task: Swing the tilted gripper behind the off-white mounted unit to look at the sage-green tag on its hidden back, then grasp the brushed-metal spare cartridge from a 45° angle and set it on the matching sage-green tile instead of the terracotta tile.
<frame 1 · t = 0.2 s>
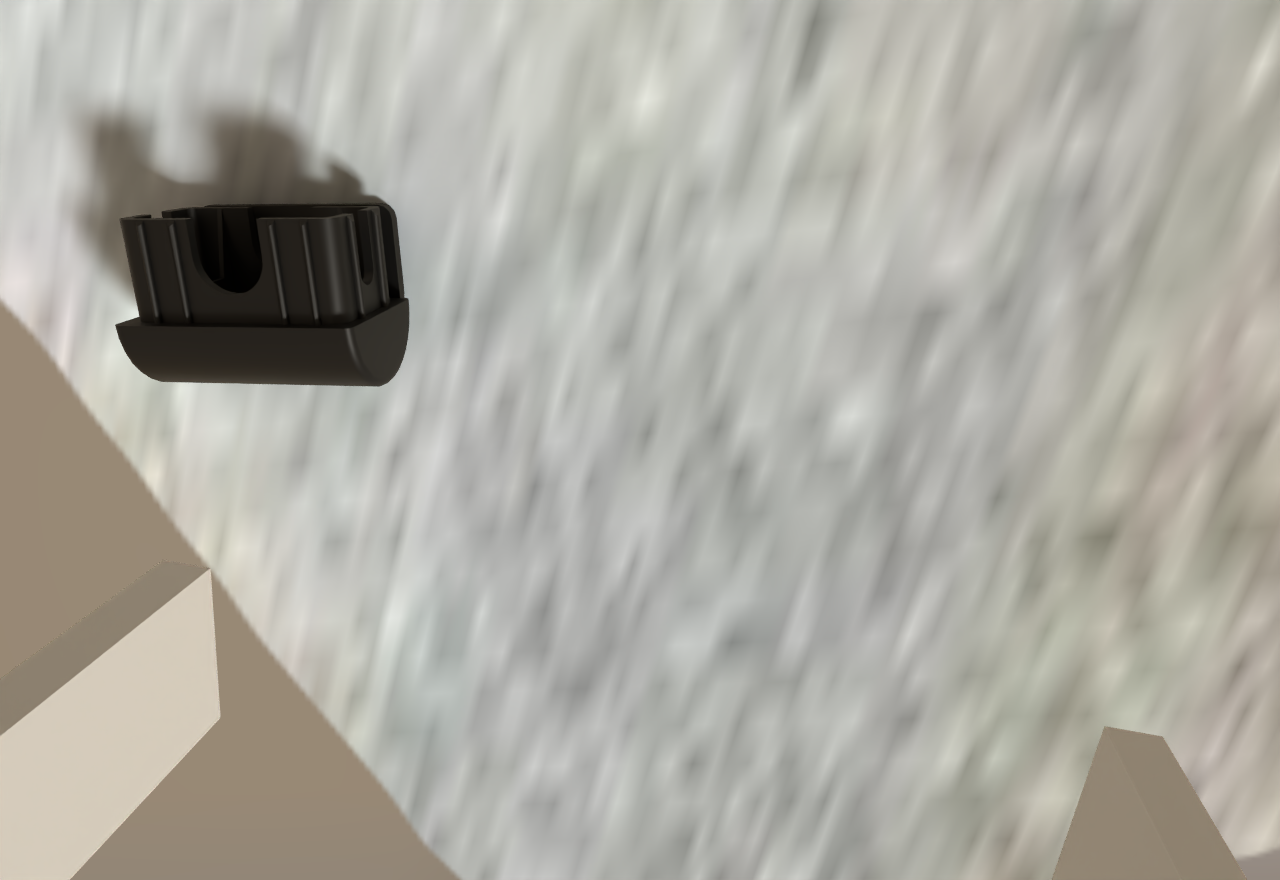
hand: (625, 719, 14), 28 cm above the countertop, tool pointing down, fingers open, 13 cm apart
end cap: (311, 283, 42), on the countertop
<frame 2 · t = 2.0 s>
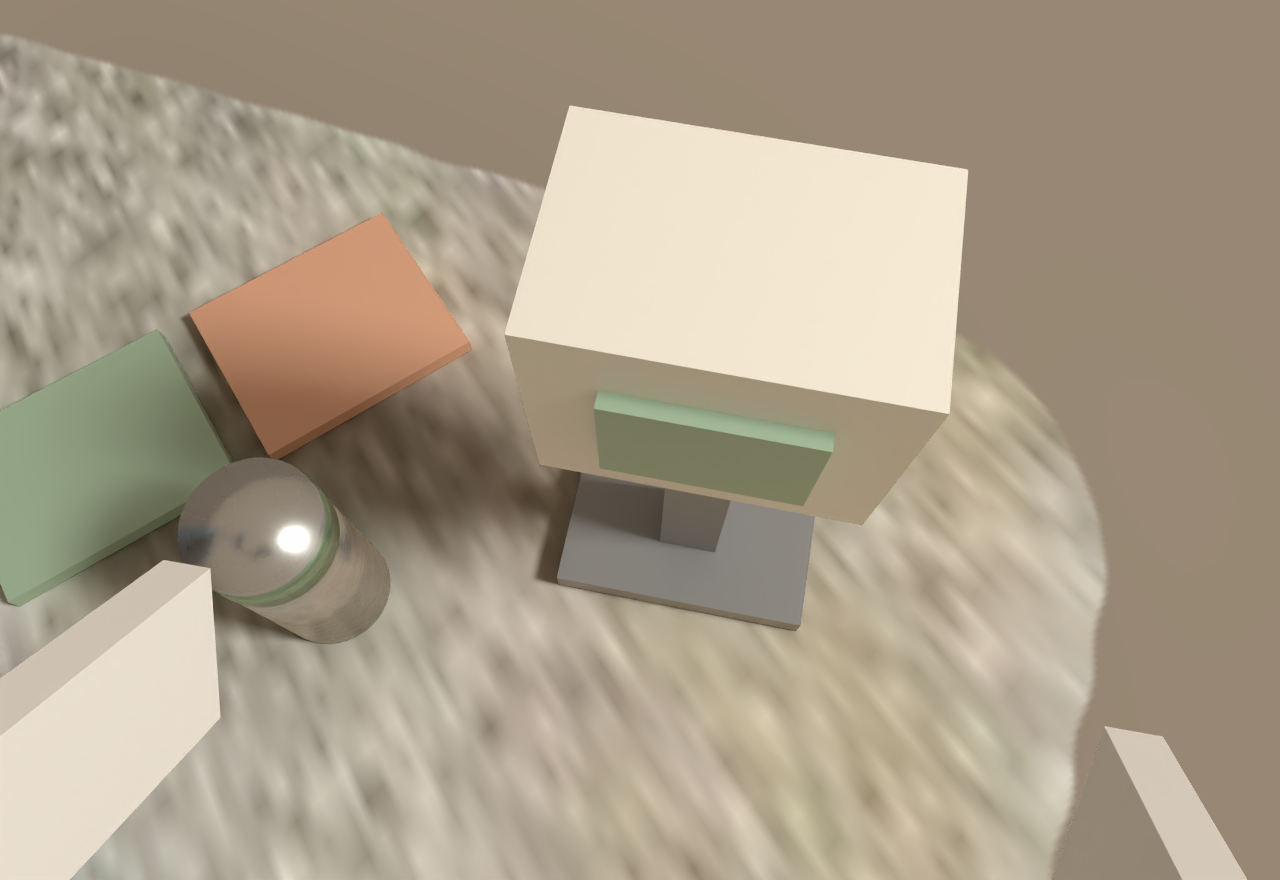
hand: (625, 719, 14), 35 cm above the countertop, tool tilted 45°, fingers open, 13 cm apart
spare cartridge: (334, 588, 50), on the countertop
green tile: (96, 463, 53), on the countertop
terracotta tile: (333, 335, 56), on the countertop
mounted unit: (690, 528, 52), on the countertop
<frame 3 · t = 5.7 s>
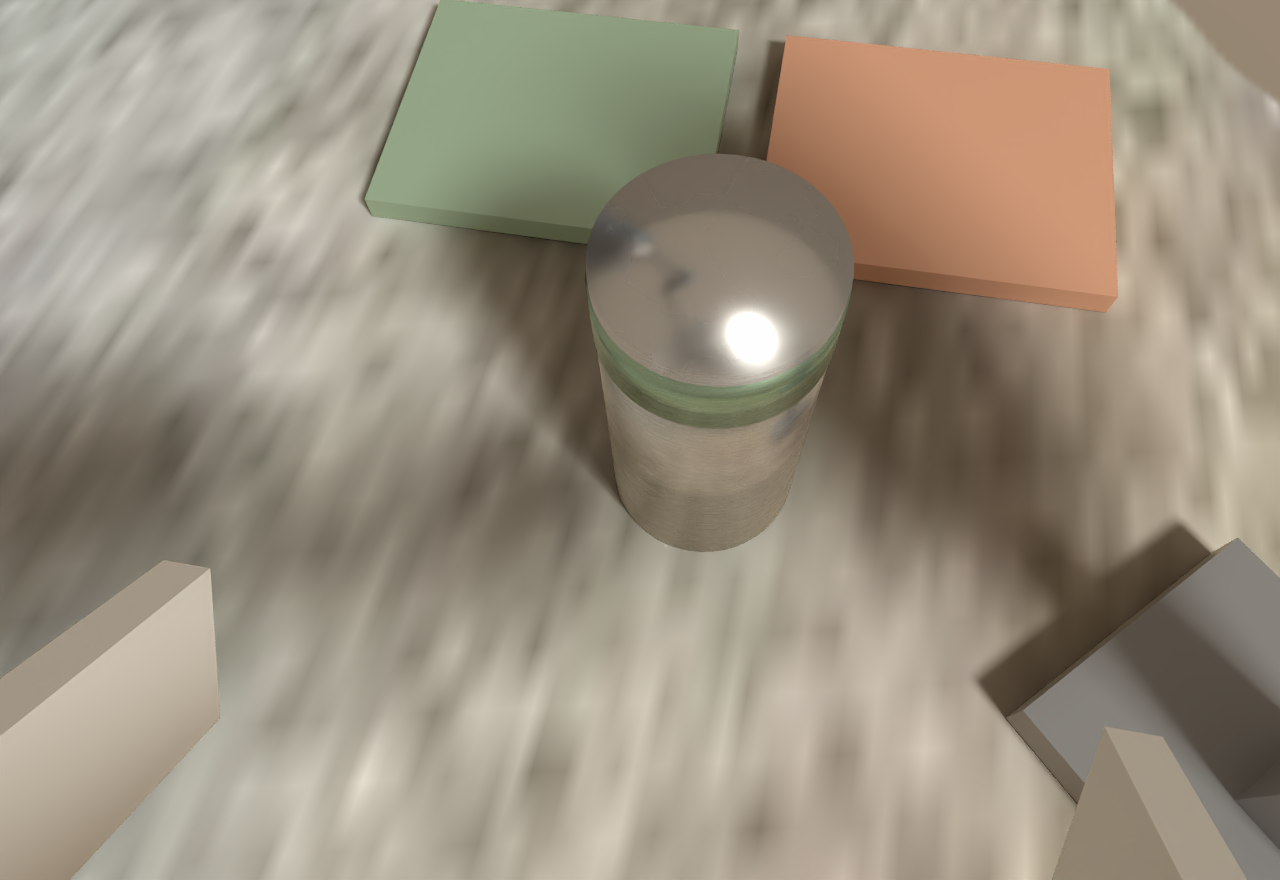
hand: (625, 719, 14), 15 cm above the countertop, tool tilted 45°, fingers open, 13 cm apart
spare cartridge: (702, 467, 32), on the countertop
green tile: (562, 129, 38), on the countertop
terracotta tile: (932, 173, 37), on the countertop
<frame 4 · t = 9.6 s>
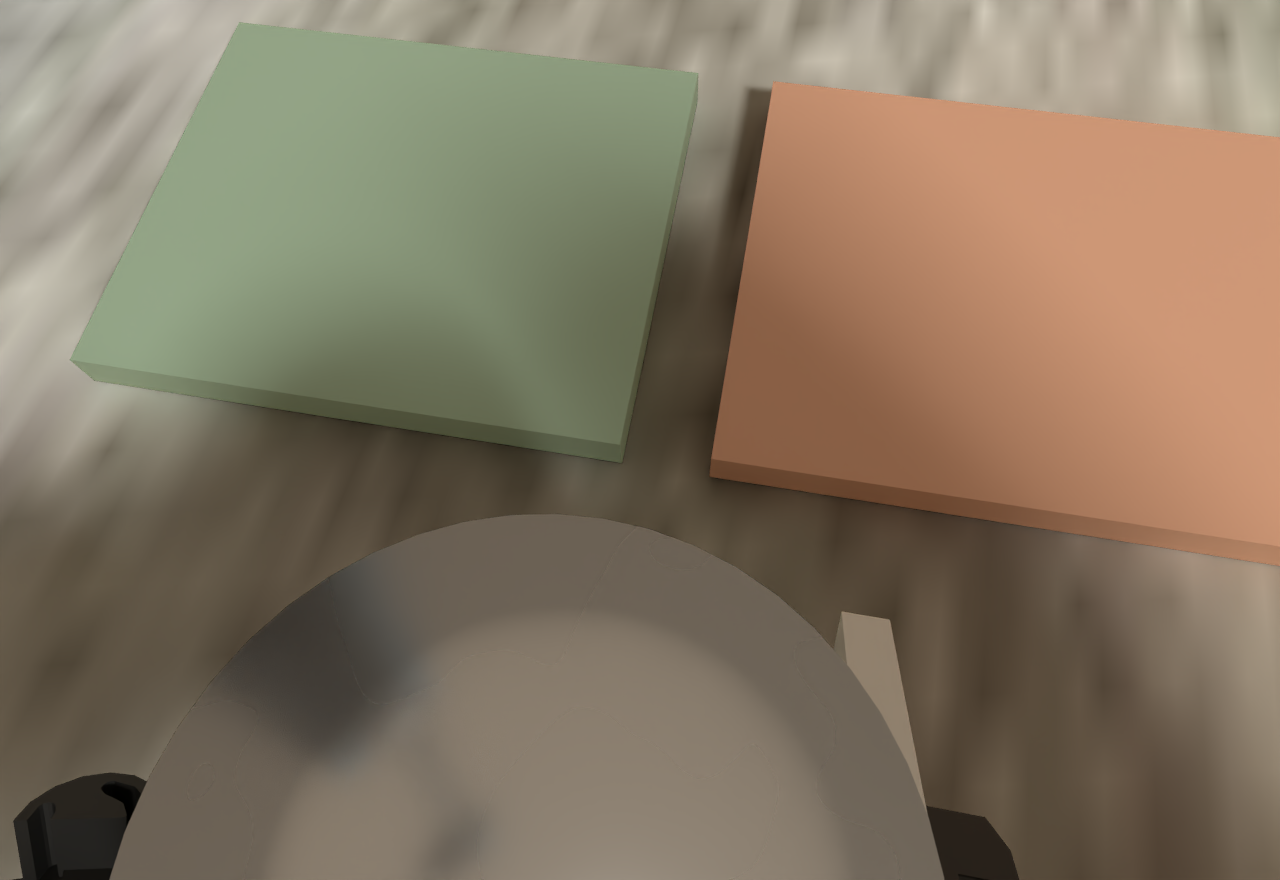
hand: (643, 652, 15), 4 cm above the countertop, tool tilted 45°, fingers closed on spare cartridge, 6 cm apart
green tile: (415, 231, 24), on the countertop
terracotta tile: (1010, 310, 22), on the countertop
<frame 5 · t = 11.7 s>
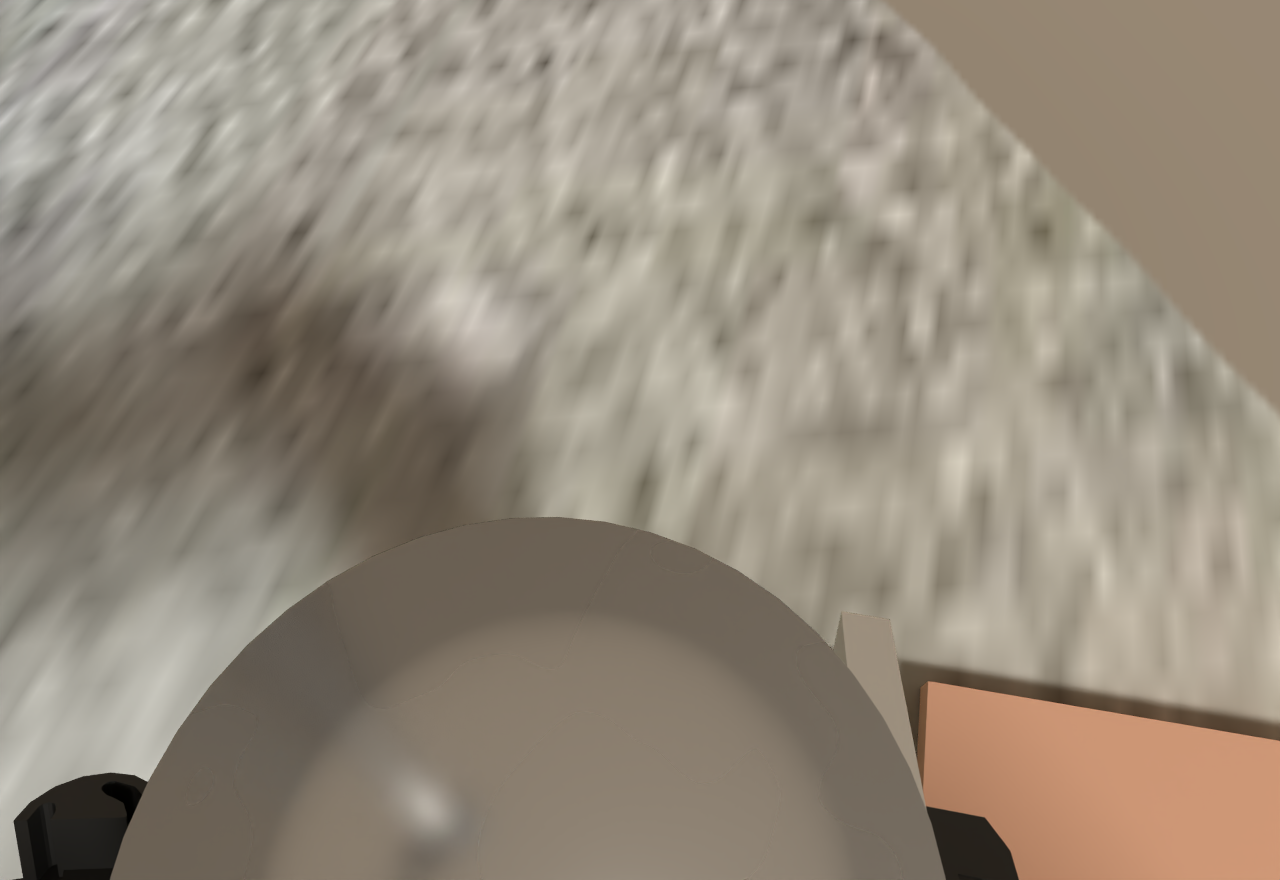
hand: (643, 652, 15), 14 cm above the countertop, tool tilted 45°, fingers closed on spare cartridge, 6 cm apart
when the fingers open (6 cm above the countertop, at t = 14.1 s): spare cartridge drops 1 cm, resting on green tile.
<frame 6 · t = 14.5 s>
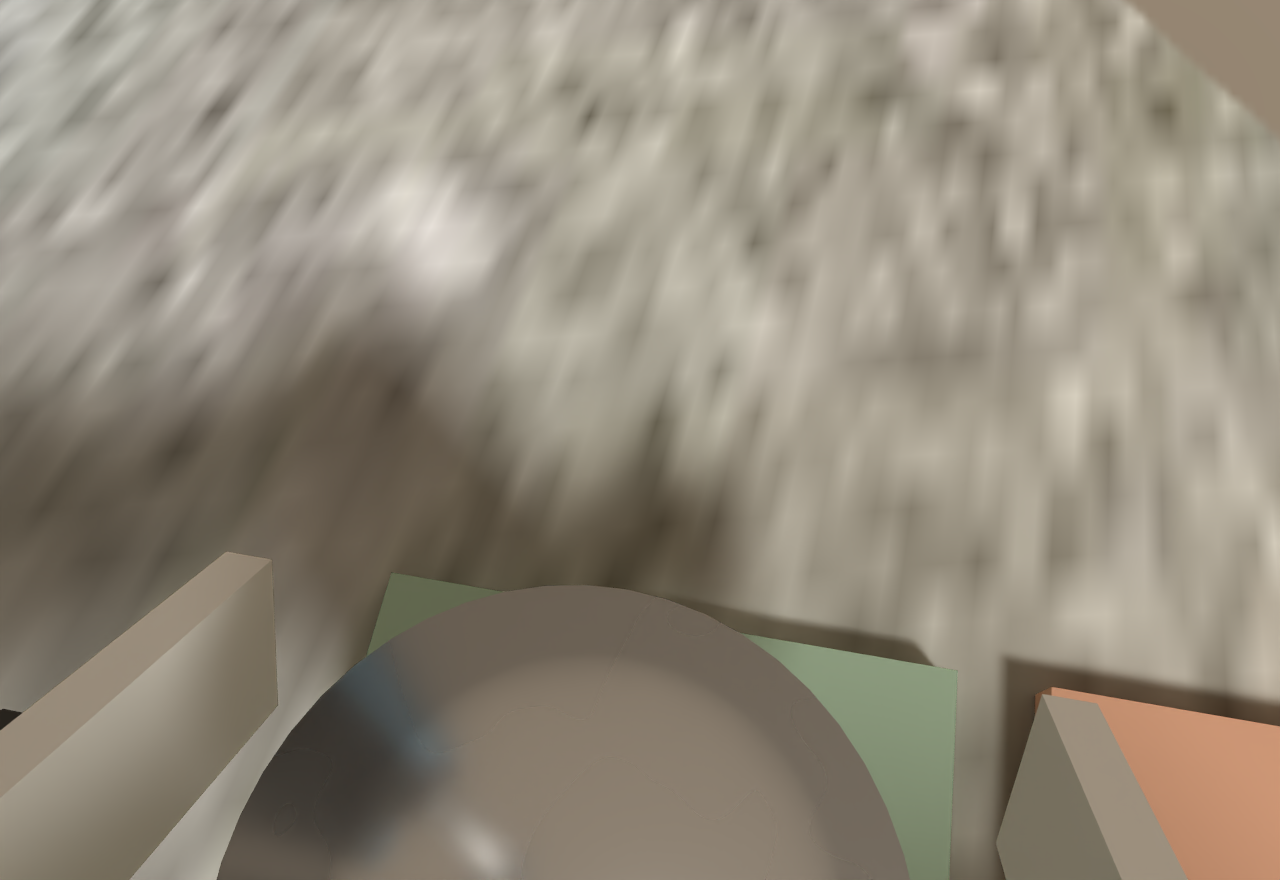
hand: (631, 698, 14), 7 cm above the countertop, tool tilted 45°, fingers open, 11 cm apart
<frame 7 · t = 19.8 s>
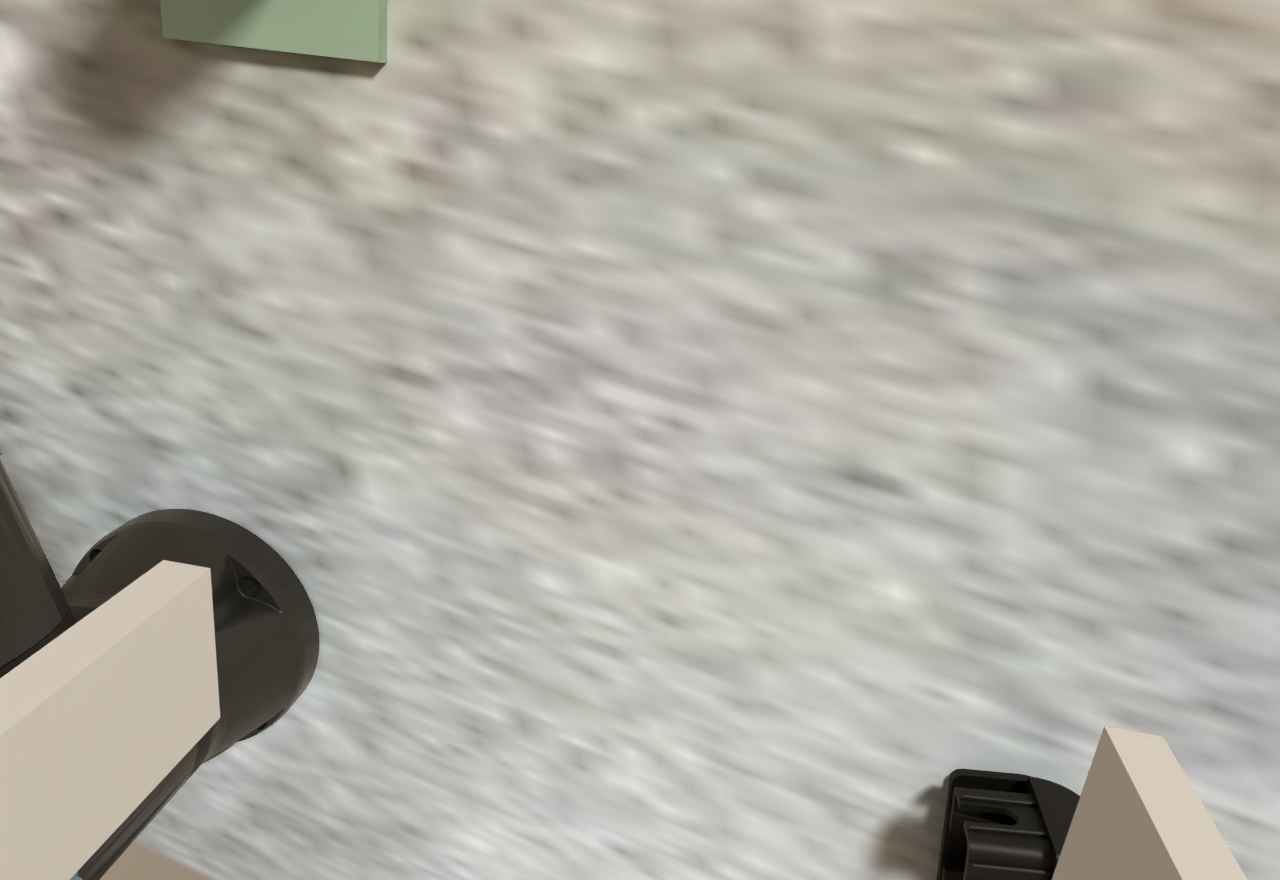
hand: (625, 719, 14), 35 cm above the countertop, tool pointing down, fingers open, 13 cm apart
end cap: (1004, 832, 55), on the countertop
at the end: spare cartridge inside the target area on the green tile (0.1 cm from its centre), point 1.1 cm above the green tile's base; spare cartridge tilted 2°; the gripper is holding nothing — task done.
